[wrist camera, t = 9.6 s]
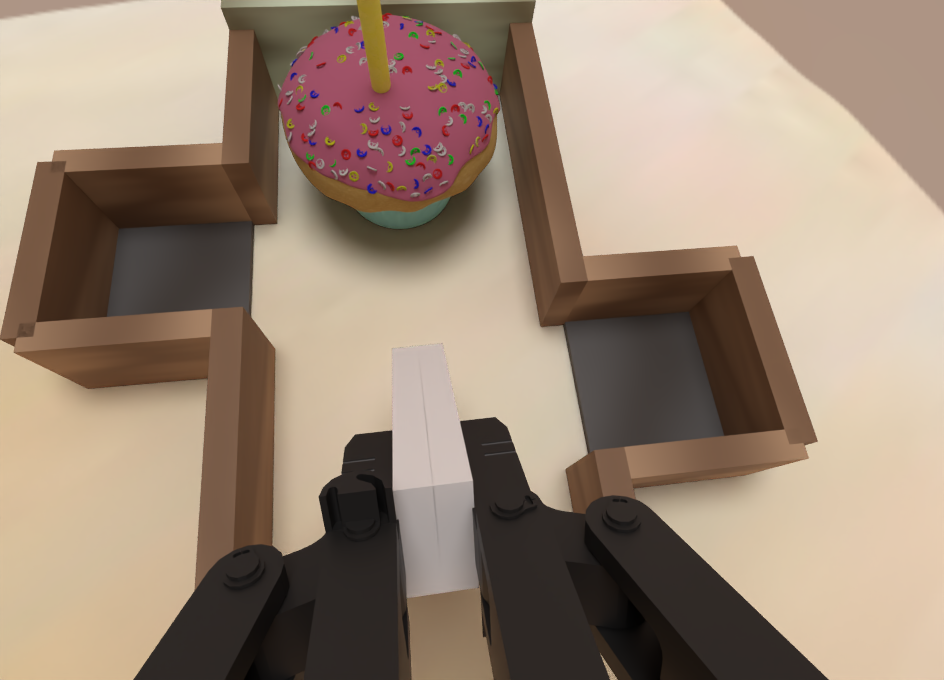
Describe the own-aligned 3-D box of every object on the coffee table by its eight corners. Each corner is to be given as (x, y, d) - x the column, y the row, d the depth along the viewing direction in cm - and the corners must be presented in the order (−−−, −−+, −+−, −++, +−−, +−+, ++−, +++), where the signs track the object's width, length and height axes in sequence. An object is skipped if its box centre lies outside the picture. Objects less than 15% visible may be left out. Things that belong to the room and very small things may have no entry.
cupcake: (484, 272, 24) (529, 24, 13) (289, 258, 24) (162, -11, 12) (491, 122, 27) (530, -181, 16) (319, 107, 27) (239, -213, 16)
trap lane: (27, 691, 17) (-121, 740, 13) (119, 92, 26) (52, -7, 22) (789, 584, 20) (896, 592, 15) (635, 74, 29) (674, -18, 24)
